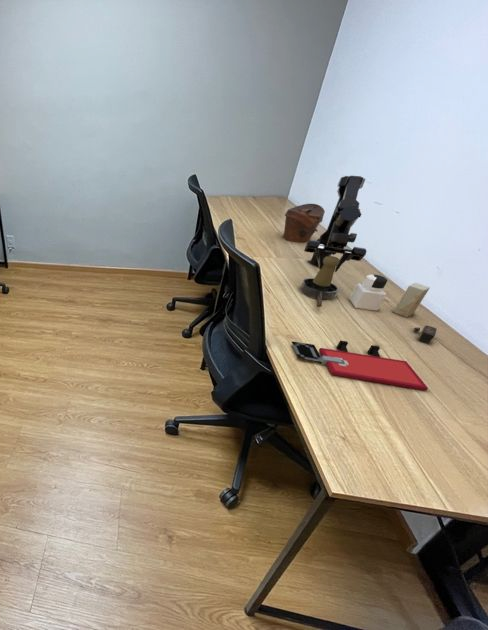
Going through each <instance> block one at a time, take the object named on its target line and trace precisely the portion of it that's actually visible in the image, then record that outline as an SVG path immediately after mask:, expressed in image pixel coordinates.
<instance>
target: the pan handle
mask: <svg viewBox="0 0 488 630" xmlns="http://www.w3.org/2000/svg"><path fill="white" fill-rule="evenodd" d="M316 307H318V308H322V307H323V300H322V292H319V291H318V293H317V299H316Z"/></svg>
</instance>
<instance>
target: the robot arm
mask: <svg viewBox="0 0 488 630" xmlns="http://www.w3.org/2000/svg"><path fill="white" fill-rule="evenodd" d="M365 183H366V178H364V176H362V175H344V176H341V177H340V179H339V181H338V183H337V189H336V192H337V196H338V200H337V203H336V205H335V207H334V209H333V210H334V211H333V212H332V215H331V218H330V220H329V223H328V226H327V228H326V230H325V231H324V232H323V233H322V234H320V236H319V238H317V239H316V240H314V239H310V240H308V241H306V243H305V247H304V249H303V252H305V253H311V254H312V257H311V260H307V262H308V263H310V264H311V265H313V266H316V267H318V269H319V270H320V269H321V267H322V265H323V259H324V258H325V257H327V256H334V255H336V254H340V255H341V257H340V258H339V260H340V262H339V264H338V266H336V267H335V271H334V273H337V271H338V270H339V269H340V268H341V266H342V265H343V264H344V263H345V262H348V261H349V262H350V261H351V260H353V261H356V262H358V261H359V262H360V261H362V259H363V258H365V256H366V254H367V252H368V251H367V249H366V248H365V247H358V246H353V248H351V249H348V248H347V245H348V243H355V241H356V239H357V236H358V233H355V232H351V233H350V231H351V228H352V227H353V226H354V225H355V223H356V222H357V220H358V219H359V218H361V217H362V212H361V209H360V202H359V201H358V200H357V199H358V195H359V190H360V189H363V187H364V184H365Z"/></svg>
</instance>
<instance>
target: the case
mask: <svg viewBox="0 0 488 630" xmlns="http://www.w3.org/2000/svg"><path fill="white" fill-rule="evenodd" d="M325 211H326V210H325V209H324V208H323V206H321V205H319V204H317V203H305V204H300V205H297V206H294V207H291V208H288V209H287V210H286V212H285V213H284V217H285V221H284V230H283V238H284V239H286V240H287V241H290V242H296V243H297V242H298V243H305V242H308V241H309V240H311V238H312V236H313V235H314V234H315V233H317V232H318V226H319V225H320V224H321V223H322V222H323V219H324V215H325Z"/></svg>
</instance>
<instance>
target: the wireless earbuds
mask: <svg viewBox="0 0 488 630" xmlns="http://www.w3.org/2000/svg"><path fill="white" fill-rule="evenodd" d="M437 329H438V328H437V327H434V326H431V325H427V324H426V325H424V326H423V328H422V330H421V327H419V326H418V327H414V328H413V331H414V332H416V333H418V332H420V333H419V336H418V340H419V341H420V342H423V343H426V344H430V343H431V342H432V341H433V339H435V338H434V337H435V336H436V333H437V331H438V330H437Z"/></svg>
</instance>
